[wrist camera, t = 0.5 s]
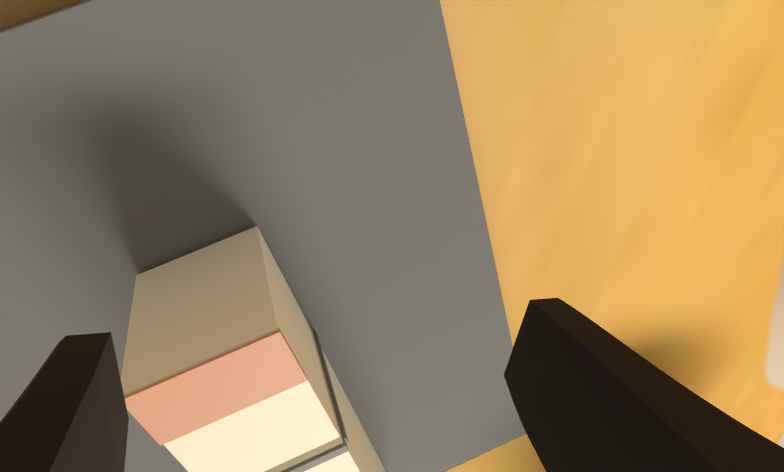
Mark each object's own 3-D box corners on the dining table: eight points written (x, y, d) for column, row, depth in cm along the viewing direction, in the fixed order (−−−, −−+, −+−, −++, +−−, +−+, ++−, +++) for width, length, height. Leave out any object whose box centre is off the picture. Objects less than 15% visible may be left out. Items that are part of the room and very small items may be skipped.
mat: (180, 580, 28) (180, 596, 28) (-338, 150, 13) (-365, 163, 13) (523, 420, 30) (530, 431, 30) (405, -114, 15) (415, -115, 15)
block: (206, 371, 21) (210, 499, 16) (135, 275, 18) (117, 398, 13) (310, 326, 21) (341, 439, 17) (257, 225, 18) (278, 329, 14)
